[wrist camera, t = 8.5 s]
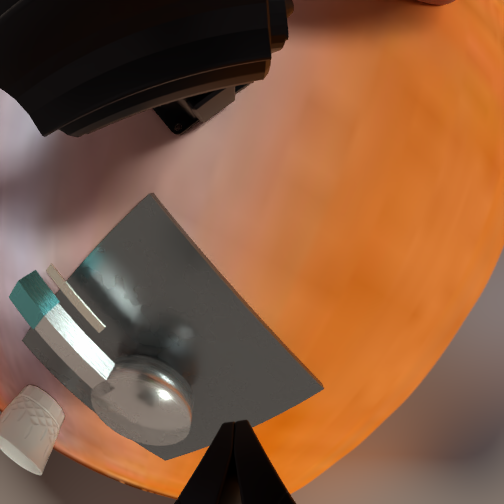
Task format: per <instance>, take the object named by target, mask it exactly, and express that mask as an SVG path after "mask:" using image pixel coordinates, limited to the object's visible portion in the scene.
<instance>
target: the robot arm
mask: <svg viewBox="0 0 504 504" xmlns="http://www.w3.org/2000/svg"><path fill="white" fill-rule="evenodd" d="M293 11H294V5H293V1H292V0H0V88H1V89H2V90H4V91H5V92H6V93H8V94H9V95H10V96H12V97H13V98H14V99H16V101H17V102H18V103H19V104H20V105H21V106H22V107H23V108H24V110H25V111H26V112H27V113H28V114H29V115H30V117H31V119H32V120H33V122H34V123H35V125H36V127H37V128H38V130H39V131H40V133H41V134H42V136H44V137H45V136H47V135H49V134H51V133H53V132H54V131H56V130H58V129H59V130H61V131H63V132H64V133H66V134H67V135H70V136H74V137H79V136H82V135H84V134H89V133H91V132H93V131H96V130H98V129H100V128H103V127H105V126H107V125H110V124H112V123H114V122H117V121H119V120H122V119H124V118H127V117H130V116H132V115H135V114H138V113H140V112H143V111H146V110H149V109H152V108H153V109H154V111H155V112H156V113H157V114H158V115H159V117H160V118H161V119H162V120H163V121H164V123H165V124H166V125H167V126H168V128H169V129H170V130H171V131H172V132H173V133H174V134H176V135H181V134H183V133H184V132H186V131H187V130H188V129H189V128H191V127H192V126H193V125H194V124H196V123H197V122H198V121H200V122H206V121H207V120H209V119H210V118H211V117H213V116H214V115H215V114H217V113H218V112H219V111H221V110H222V109H223V108H225V107H226V106H228V105H229V104H230V103H232V102H233V101H234V100H235V94H236V93H238V92H239V91H241V90H242V89H244V88H245V87H247V86H248V85H249V84H250V83H253V82H254V81H257V80H263V79H264V78H265V77H266V75H267V74H268V72H269V68H270V63H271V53H274V52H276V51H279V50H281V49H282V48H283V46H284V43H285V41H286V40H288V24H287V18H288V17H289V16H290V15H291V14H292V13H293ZM179 124H181V126H182V128H181V130H179V131H176V126H177V125H179ZM178 499H179V500H178ZM178 499H177V500H176V502H175V503H174V504H296V503H295V501H294V500H293V498H292V497H291V495H290V493H289V492H288V490H287V489H286V487H285V485H284V484H283V482H282V480H281V479H280V477H279V475H278V474H277V472H276V470H275V469H274V467H273V465H272V463H271V462H270V460H269V458H268V456H267V455H266V453H265V451H264V449H263V447H262V446H261V444H260V442H259V440H258V438H257V436H256V434H255V433H254V431H253V429H252V427H251V425H250V423H249V421H248V420H239V421H236V422H234V421H232V422H225V423H223V424H222V425H221V427H220V429H219V431H218V432H217V434H216V436H215V438H214V439H213V441H212V443H211V445H210V446H209V448H208V450H207V451H206V453H205V455H204V456H203V458H202V460H201V461H200V463H199V465H198V466H197V468H196V470H195V471H194V473H193V475H192V476H191V478H190V480H189V481H188V483H187V484H186V486H185V488H184V489H183V491H182V492H181V494H180V495H179V497H178Z"/></svg>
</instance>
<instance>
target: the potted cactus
mask: <svg viewBox="0 0 504 504" xmlns="http://www.w3.org/2000/svg"><path fill="white" fill-rule="evenodd" d="M417 1H421V2H424V3H429V4H436V5H443V4H448V3H451V2H453V1H455V0H417Z"/></svg>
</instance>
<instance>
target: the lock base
mask: <svg viewBox="0 0 504 504" xmlns="http://www.w3.org/2000/svg"><path fill="white" fill-rule="evenodd" d="M46 271H47V273H48V274H49V275H50V277H51V278H52V279H53V281H54V282H55V283H56V284H57V286H58V287H59V288H60V290H59V291H58V292H57V294H56V295H55V296H56V297H57V299H58V300H59V301H60V302H59V304H60V305H61V306H62V308H63V309H64V310H65V311H66V312H67V314H68V315H69V316H70V317H71V318H72V319H73V321H74V322H75V323H76V324H77V325H78V326H79V327H80V328H81V329H82V331H83V332H84V333H85V334H86V335H87V336H88V337H89V338H90V339H91V340H92V341H93V342H94V343H95V344H96V345H97V346H98V347H99V348H100V349H101V350H102V351H103V352H104V353H105V354H106V355H107V356H108V357H109V358H110V359H111V360H112V359H114V358H116V357H119V356H123V355H141V356H146V357H150V358H153V359H156V360H158V361H161V362H163V363H165V364H167V365H169V366H170V367H172V368H173V369H175V370H176V371H177V372H178V373H180V374H181V375H182V376H183V377H184V378H185V379H186V381H187V382H188V383H189V385H190V386H191V389H192V391H193V394H194V405H193V412H192V419H191V426H190V431H189V434H188V435H187V437H186V438H185V439H183V440H182V441H180V442H178V443H176V444H172V445H165V446H155V445H148V444H143V443H139V442H136V441H135V442H136V443H138V444H139V445H141V446H142V447H144V448H145V449H147V450H149V451H150V452H152V453H154V454H155V455H157V456H159V457H160V458H162V459H164V460H165V461H166V460H169V459H172V458H175V457H178V456H181V455H184V454H187V453H190V452H193V451H196V450H199V449H202V448H204V447H207V446H210V445H211V443H212V441H213V439H214V438H215V436H216V434H217V432H218V431H219V429H220V427H221V425H222V424H223V423H225V422H232V421H234V422H236V421H239V420H248V421H249V423H250V425H251V427H254V426H256V425H258V424H261V423H263V422H265V421H267V420H269V419H271V418H273V417H275V416H277V415H279V414H281V413H282V412H284V411H286V410H288V409H290V408H292V407H294V406H295V405H297V404H299V403H301V402H303V401H304V400H306V399H308V398H310V397H311V396H313V395H315V394H316V393H318V392H320V391H321V390H323V389H324V387H323V385H322V383H321V382H320V381H319V380H318V379H317V378H316V377H315V376H314V375H313V374H312V373H311V372H310V371H309V370H308V368H307V367H306V366H305V365H304V364H303V363H302V362H301V361H300V360H299V359H298V358H297V357H296V356H295V355H294V354H293V353H292V352H291V351H290V350H289V348H288V347H287V346H286V345H285V344H284V343H283V342H282V341H281V340H280V339H279V338H278V337H277V336H276V334H275V333H274V332H273V331H272V330H271V329H270V328H269V327H268V326H267V325H266V324H265V323H264V321H263V320H262V319H261V318H260V317H259V316H258V315H257V314H256V313H255V312H254V310H253V309H252V308H251V307H250V306H249V305H248V304H247V303H246V302H245V300H244V299H243V298H242V297H241V296H240V295H239V294H238V293H237V291H236V290H235V289H234V288H233V287H232V286H231V285H230V284H229V282H228V281H227V280H226V279H225V278H224V277H223V276H222V274H221V273H220V272H219V271H218V270H217V269H216V268H215V266H214V265H213V264H212V263H211V262H210V261H209V259H208V258H207V257H206V256H205V255H204V254H203V252H202V251H201V250H200V249H199V248H198V247H197V245H196V244H195V243H194V242H193V241H192V239H191V238H190V237H189V236H188V235H187V234H186V232H185V231H184V230H183V229H182V228H181V226H180V225H179V224H178V223H177V222H176V220H175V219H174V218H173V217H172V216H171V214H170V213H169V212H168V211H167V209H166V208H165V207H164V206H163V205H162V203H161V202H160V201H159V200H158V198H157V197H156V196H155V195H154V193H150V194H149V195H148V196H147V197H145V198H144V199H143V200H142V201H141V202H140V203H139V204H138V205H137V206H136V207H135V208H134V209H133V210H132V211H131V212H130V213H129V214H128V215H127V216H126V217H125V218H124V219H123V220H122V221H121V222H120V223H119V224H118V225H117V226H116V227H115V228H114V229H113V230H112V231H111V232H110V233H109V234H108V235H107V236H106V237H105V238H104V239H103V240H102V241H101V243H100V244H99V245H98V246H97V247H96V248H95V249H94V250H93V251H92V252H91V253H90V255H89V256H88V257H87V258H86V259H85V260H84V261H83V262H82V264H81V265H80V266H79V267H78V268H77V269H76V271H75V272H74V273H73V274H72V275H71V276H70V278H69V279H68V280H67V281H65V280H64V279H63V277H62V276H61V275H60V274H59V272H58V271H57V270H56V268H55V267H54V266H53V264H52V263H51V264H50V266H49V267H48V269H47V270H46ZM22 341H23V342H24V343H25V345H26V346H27V347H28V348H29V349H30V350H31V352H32V353H33V354H34V355H35V356H36V357H37V358H38V359H39V360H40V362H41V363H42V364H43V365H44V366H45V367H46V368H47V369H48V370H49V371H50V372H51V373H52V374H53V375H54V376H55V377H56V378H57V379H58V380H59V381H60V382H61V383H62V384H63V385H64V386H65V387H66V388H67V389H68V390H70V391H71V392H72V393H73V394H74V395H75V396H76V397H77V398H78V399H80V400H81V401H82V402H83V403H84V404H85V405H87V406H88V407H89V408H90V409H91V410H93V411H94V412H95V410H94V408H93V406H92V402H91V392H92V390H93V389H92V388H91V387H90V386H89V385H88V384H87V383H85V382H84V381H83V380H82V379H81V378H80V377H79V376H78V375H77V374H76V373H75V372H74V371H73V370H72V369H71V368H70V367H69V366H68V365H67V364H66V363H65V362H64V361H63V360H62V359H61V358H60V357H59V356H58V355H57V354H56V353H55V351H54V350H53V349H52V348H51V347H50V346H49V345H48V344H47V343H46V341H45V340H44V339H43V338H42V337H41V336H40V334H39V333H38V332H37V331H36V330H35V329H34V330H33V329H32V327H31V328H30V330H29V331H28V333H27V334H26V336H25V337H24V339H23V340H22ZM95 413H96V412H95ZM96 414H97V413H96Z"/></svg>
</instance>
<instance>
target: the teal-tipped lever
mask: <svg viewBox="0 0 504 504" xmlns="http://www.w3.org/2000/svg"><path fill="white" fill-rule="evenodd" d="M9 298H10V300H11V301H12V302H13V304H14V305H15V307H16V308H17V309H18V311H19V312H20V313H21V315H22V316H23V317H24V319H25V320H26V321H27V322H28V324H29V325H30V326H31V327H32V329H33V330H34V329H35V330H36V331H37V332H38V333H39V334H40V336H41V337H42V338H43V339H44V340H45V341H46V343H47V344H48V345H49V346H50V347H51V348H52V349H53V350H54V351H55V353H56V354H57V355H58V356H59V357H60V358H61V359H62V360H63V361H64V362H65V363H66V364H67V365H68V366H69V367H70V368H71V369H72V370H73V371H74V372H75V373H76V374H77V375H78V376H79V377H80V378H81V379H82V380H83V381H84V382H85V383H87V384H88V385H89V386H90V387H91V388H92V389H93V390H92V392H91V402H92V406H93V408H94V410H95V412H96V413H97V415H98V416H99V418H100V419H101V420H102V421H103V422H104V423H105V424H106V425H107V426H109V427H110V428H111V429H112V430H114V431H115V432H117V433H119V434H120V435H122V436H124V437H126V438H128V439H131V440H133V441H136V442H139V443H143V444H148V445H155V446H165V445H172V444H176V443H178V442H180V441H182V440H183V439H185V438H186V437H187V435H188V434H189V431H190V426H191V419H192V412H193V405H194V394H193V391H192V389H191V386H190V385H189V383H188V382H187V381H186V379H185V378H184V377H183V376H182V375H181V374H180V373H178V372H177V371H176V370H175V369H173V368H172V367H170V366H169V365H167V364H165V363H163V362H161V361H158V360H156V359H153V358H150V357H146V356H141V355H123V356H119V357H116V358H114V359H112V360H111V359H110V358H109V357H108V356H107V355H106V354H105V353H104V352H103V351H102V350H101V349H100V348H99V347H98V346H97V345H96V344H95V343H94V342H93V341H92V340H91V339H90V338H89V337H88V336H87V335H86V334H85V333H84V332H83V331H82V329H81V328H80V327H79V326H78V325H77V324H76V323H75V322H74V321H73V319H72V318H71V317H70V316H69V315H68V314H67V312H66V311H65V310H64V309H63V308H62V306H61V305H60V304H59V302H60V301H59V300H58V299H57V297H56V296H55V295H54V294H53V292H52V291H51V290H50V288H49V287H48V286H47V285H46V283H45V282H44V281H43V279H42V278H41V276H40V275H39V274H38V272H37V271H36V270H35V271H33V272H32V273H30V274H28V275H27V276H25V277H23V278H22V279H20V280H19V281H18V282H17V284H16V286H15V287H14V289H13V291H12V292H11V294H10V296H9Z"/></svg>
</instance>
